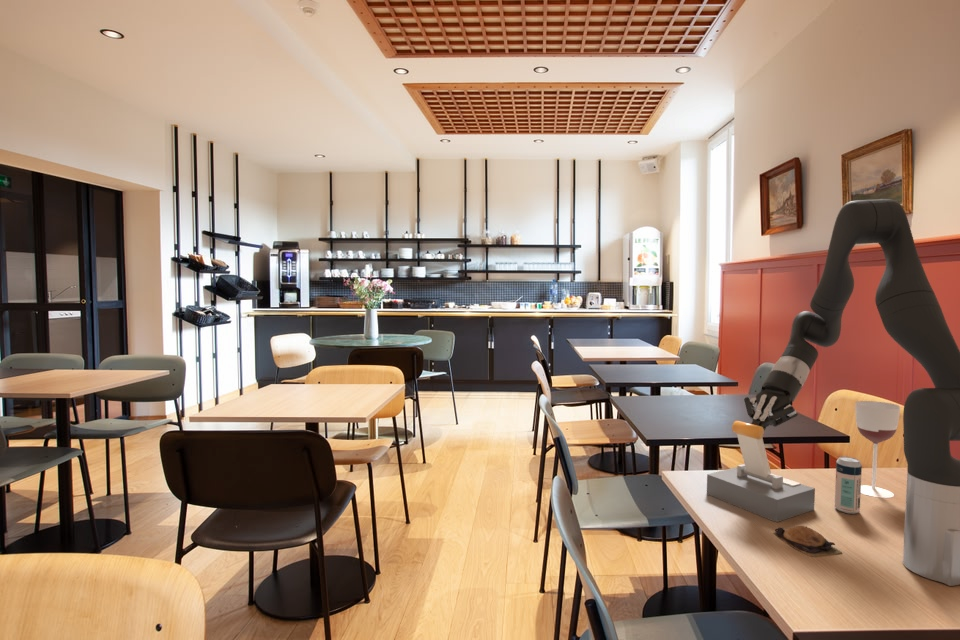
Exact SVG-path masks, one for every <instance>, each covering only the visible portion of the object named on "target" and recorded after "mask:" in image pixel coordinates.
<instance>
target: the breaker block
mask: <svg viewBox="0 0 960 640" xmlns="http://www.w3.org/2000/svg"><path fill="white" fill-rule="evenodd" d="M744 468H745V464H744V463H743V464H739V465H738V464H737V466H736V467H731V468H728V469H724V470H719V471H716V472H711V473H708V474H707V475H706V495H708V496H711V497H713V498H715V499H718V500H720V501H722V502H725V503H727V504H730V505H733V506H736V507H738V508H740V509H743V510H745V511H747V512H750V513H752V514H755V515H757V516H760V517H763V518H765V519H767V520H770V521H772V522H775V523H779V522H781V521H784V520H788V519H791V518H794V517H796V516H799V515H802V514H806V513H809V512H811V511H815V496H816V494H815V493H816V488H815V487H812V486H809V485H806V484H802V483H801V482H798V481H795V480H792V479H788V478H785V477H783V475H776V474H774V473H771V474H770V475H773V476H774V477H772V483H770V482H767V481H764V480H761V479H758V478H755V477H752V476H749V475H746V474H744Z"/></svg>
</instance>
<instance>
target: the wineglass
mask: <svg viewBox="0 0 960 640" xmlns="http://www.w3.org/2000/svg"><path fill="white" fill-rule="evenodd" d="M854 410H855V411H854V412H855V423H856V427H857V430H858V432H859V434H860V435H861V436H863V437H864V438H865V439H867V440H868V441H870V442H871V443H873V444H872V445H873V446H872V448H873V449H872V466H871V467H872V468H871V469H872V472H871V485H867V484H865V485H864V484H863V485H862V484H861V495H862V494H863V495H865V496H866V495H867V496H870V497H875V498H882V499H885V498H886V499H888V498H893V497H895V494H894V493H893V492H892V491H890V490H888V489H884V488H881V487H878V486H876V485H877V484H876V483H877V468H878V466H877V465H878V463H877V462H878V444H879V443H882V442H885V441H887V440H890V439H891V438H893V437H894V435H895V434H896V432H897V429H898V426H899V421H900V415H901V406H899V404H898V405H897V404H894V403H890V402H884V401H874V400H871V401H870V400H860V401H855V405H854Z"/></svg>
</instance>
